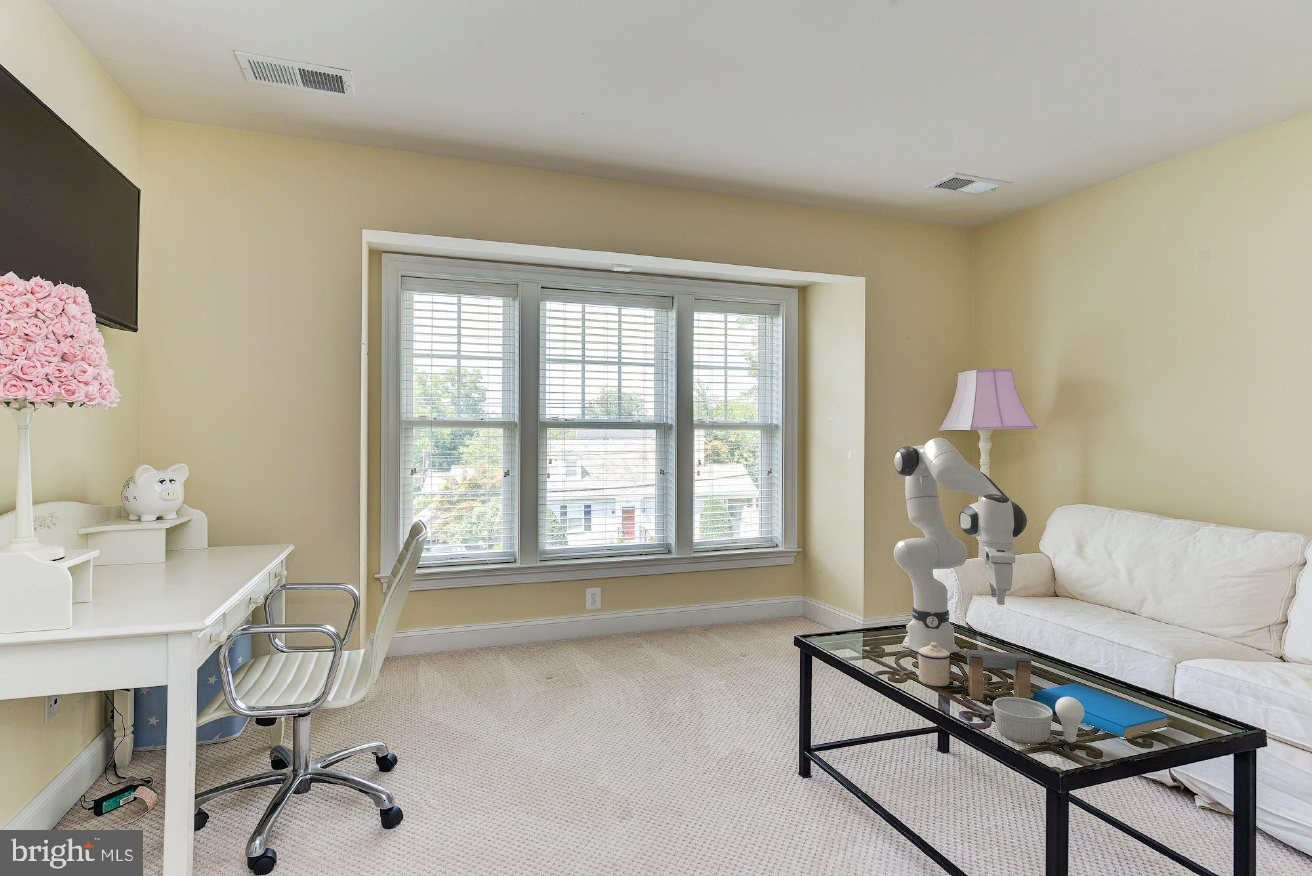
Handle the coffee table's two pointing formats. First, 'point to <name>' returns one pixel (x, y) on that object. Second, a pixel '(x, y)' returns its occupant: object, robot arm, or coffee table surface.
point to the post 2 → (1022, 681)
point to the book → (1104, 709)
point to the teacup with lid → (933, 665)
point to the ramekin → (1022, 719)
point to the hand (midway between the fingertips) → (997, 600)
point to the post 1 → (975, 679)
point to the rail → (998, 659)
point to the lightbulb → (1069, 716)
